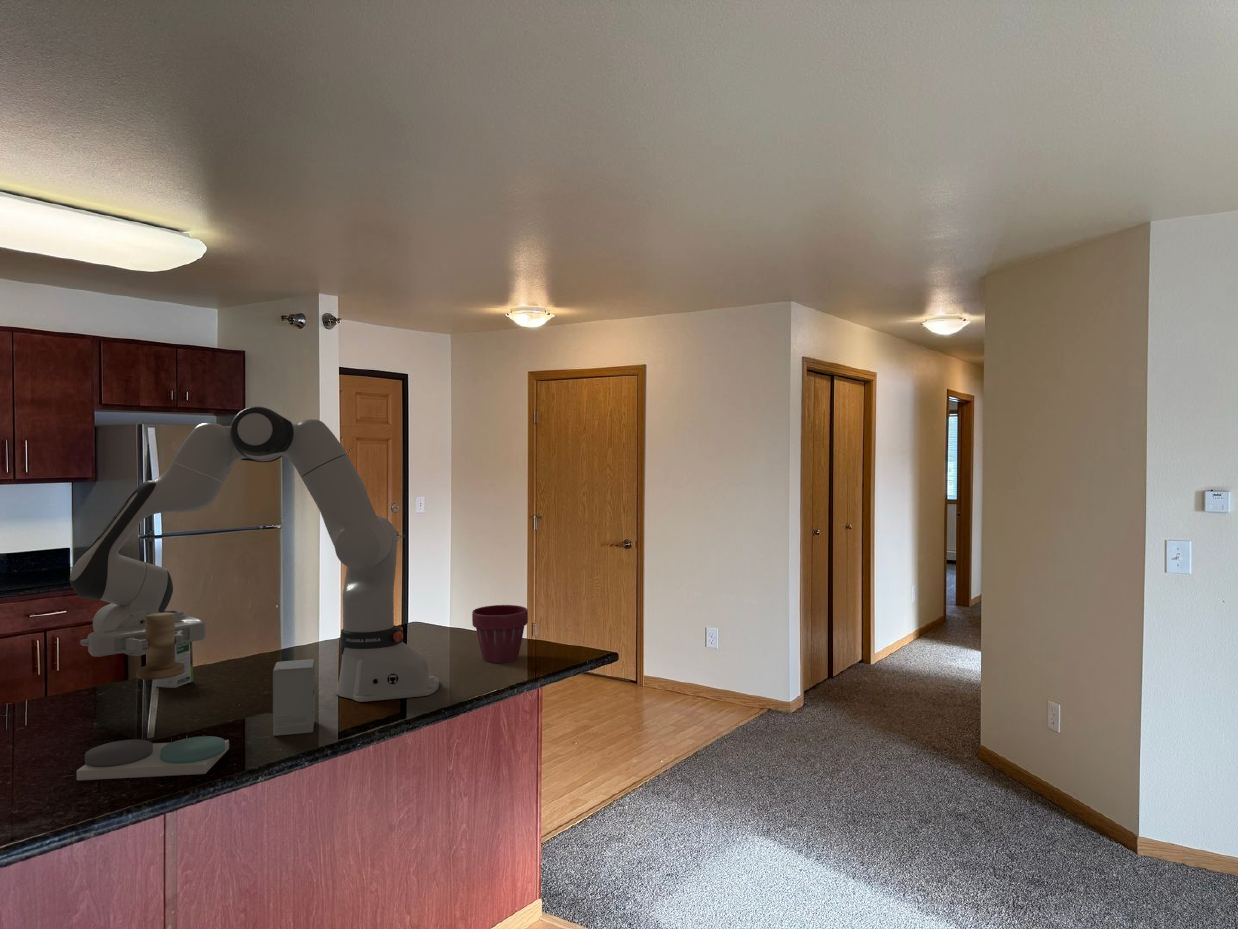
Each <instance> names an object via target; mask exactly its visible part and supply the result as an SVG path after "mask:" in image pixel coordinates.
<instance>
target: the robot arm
mask: <svg viewBox="0 0 1238 929" xmlns="http://www.w3.org/2000/svg"><path fill="white" fill-rule="evenodd" d="M178 448H179V449H178V451H177V452H176V454H175V456H174V457H173V459H172V461H171V463H170V465H169V466H168V467H167V469H166V470H165V471H164V472H163V473H162V474H161V475H160V476H158V477H156V478H154V479H152V480H145V481H144V482H141V484H140V485H139V486H137V488H136V489H135V490H134V491H133V492H132V493H131V495H130V496H129V497H128V498H127V499H126V501H125V502H124V503H122V505H121V507H120V508H119V509H118V511H117V512H116V513H115V515H114V516H113V517H112V519H111V520H110V521H109V523H107V525H106V526H105V527H104V529H103V530H102V531H101V533H100V534H99V536H98V537H97V538H96V539H95V541H94V542H93V543H92V544H91V545H90V546H89V547H88V549H86V550H85V551H84V552H83V554H82V555H81V556H80V557H79V558H78V560H77V561H76V562H75V564H74V565H73V567H72V570H71V571H70V574H69V579H68V580H69V582H70V585H71V587H72V589H73V590H74V592H75V593H76V595H78V596H79V597H80V598H83V599H89V600H93V601H94V600H95V601H102V602H106V603H109V604H106V605H104V606H103V607H101V608H99V610H97V612H96V613H95V614H94V617H93V620H92V630H93V632H89V633H88V635H87V637H86V638H85V639H83V638H82V639H80V640H79V644H80V646H83V647H87V651H88V653H89V654H90V656H92V657H106V656H110V655H117V654H119V655H120V654H125V655H128V656H133V657H139V656H143V655H146V650H147V649H148V648H149V646H148V640H146V615H149V614H155V613H174V614H175V645H178V644H183V643H187V642H192V643H194V642H197V641H204V640H205V639H206V635H207V624H206V621H204V620H202V618H198V617H196V616H193V615H187V614H185V612H184V611H183V610H167V611H166V609H167V608H168V606H169V604H170V602H171V600H172V596H173V593H174V584H173V580H172V576H171V574H170V572H169V570H168V569H167V568H166V567H163V566H159V565H155V564H152V563H149V562H147V561H142V560H138V559H135V558H133V557H132V558H131V557H128V556H125V555H122V554H120V553H119V551H120V550H121V548H122V547H123V546H124V545H125V543H126V542H127V540H128V539H129V538H130V537H131V535H132V534H133V532H134V531H135V530H136V529H137V527H138V526H139V525H140V523H142V521H143V520H145V519H146V518H147V517H151V516H153V515H156V514H162V513H192V512H197V511H199V510H203V509H205V508H206V507H208V506H210V505H211V504H212V503H213V502H214V501H215V500H216V499H217V496H218V495H219V493H220V492H221V490H222V488H223V486H224V484H225V482H226V480H227V477H228V476H229V473H230V472H231V470H232V468H233V466H234V465H235V464H236V463H237V462H238V461H239V460H241V461H246V462H247V461H248V462H256V463H271V462H275V461H277V460H279V459H281V458H282V457H284V458H287V460H289V461H290V462H291V463H292V465H293V466H294V468H295V469H296V471H297V473H298V475H299V477H300V478H301V480H302V482H303V483H304V485H305V487H306V489H307V491H308V492H309V493H310V495H311V497H312V499H313V501H314V503H315V504H316V506H317V508H318V510H319V513H320V515H321V518H322V520H323V523H324V525H325V529H326V530H327V533H328V536H329V538H330V539H331V542H332V545H333V547H334V551H335V554H336V557H337V559H338V560H339V561H340V562H341V564H343V565H344V566H346V569H345V570H346V571H345V576H344V578H345V579H344V585H343V586H344V587H343V590H342V628H341V630H340V634H339V644H340V648H339V649H340V654H341V665H340V672H339V678H338V682H337V687H336V689H335V694H336V695H337V696H339V697H342V698H347V699H351V700H354V701H356V702H359V703H362V702H374V701H375V702H376V701H384V700H395V699H406V698H408V699H409V698H414V697H415V698H416V697H417V698H418V697H426V696H430V695H432V694H434V693H435V692H436V691H438V689H439V687H440V681H439V680H440V679H439V678H438V677H437V676H435V675H430V669H429V665H428V661H427V660H426V658H425V656H423V655H422V654H421V653H420V652H418V651H416V650H415V649H414V648H412V647H410V645H408V644H406V643H405V642H404V630H403V627H399V626H397V625H396V624H395V620H394V619H395V617H394V616H395V615H394V613H395V609H394V608H395V606H394V602H395V599H394V596H395V595H394V593H395V592H394V590H395V579H396V568H397V554H398V553H397V552H398V548H397V547H398V546H397V545H398V534H397V531H396V528H395V526H394V524H393V523H392V522H390V520H388V519H387V518H385V517H383V516H381V515H377V513H376V512H375V511H376V510H374V507H373V505H372V502H371V499H370V497H369V495H368V492H367V489H366V485H365V484H364V482H363V480H362V477H361V476H360V474H359V473H358V471H357V470H356V467H355V466H354V464H353V462H352V460H351V459H350V457H349V455H348V454H347V452H346V450H345V448H344V447H343V446H342V444H341V442H340V440H338V438H337V437H336V436H335V434H334V433H333V432H332V430H330V428H329V426H327V425H326V423H324V422H323V421H322V420H319V419H312V418H311V419H310V418H309V419H304V420H302V421H300V422H297V423H292V421H290V420H289V419H287V418H286V417H284V416H283V415H280V414H279V413H277V412H276V411H274V410H272V409H270V408H267V407H264V406H250V407H249V406H248V407H247V408H244V409H243V410H240V411H239V412H238V413H237V414H236V415H235V416H234V418H233V419H232V421H231V423H230V426H224V425H222V424H220V423H214V422H203V423H199V424H197V425H196V426H195V427H193V429H192V431H191V432H189V434H188V436H187V437H185V440H183V442H182V444H181V446H180V447H178Z"/></svg>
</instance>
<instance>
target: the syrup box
mask: <svg viewBox="0 0 1238 929" xmlns="http://www.w3.org/2000/svg"><path fill="white" fill-rule="evenodd" d="M193 654H194V652H193V642H187V643H183V644H178V645H175V662H177V663H183V664H184V665H185V672H184V673H183V674H181V675H178V676H174V677H170V678H164V679H155V680H154V683H155V684H154V686H155V687H159V688H166V689H167V688H172V689H175V688H176V689H177V688H180V687H182V686H183V685H187V684H190V683H192V682H194V664H193V661H194V660H193Z"/></svg>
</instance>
